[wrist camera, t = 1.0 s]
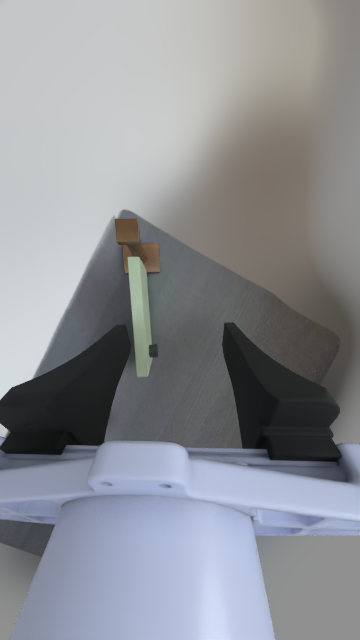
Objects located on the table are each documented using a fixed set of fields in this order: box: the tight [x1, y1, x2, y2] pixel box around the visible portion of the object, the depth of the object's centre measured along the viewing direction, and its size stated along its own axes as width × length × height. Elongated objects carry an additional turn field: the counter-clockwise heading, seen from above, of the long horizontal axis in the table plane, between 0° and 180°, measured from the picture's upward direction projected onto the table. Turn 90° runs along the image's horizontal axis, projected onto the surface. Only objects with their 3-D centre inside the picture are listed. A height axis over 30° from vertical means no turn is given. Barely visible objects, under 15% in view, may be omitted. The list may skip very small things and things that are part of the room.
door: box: [128, 257, 158, 377], centre depth 23 cm, size 13×2×7 cm, turn 3°
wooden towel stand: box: [115, 219, 160, 274], centre depth 21 cm, size 4×5×10 cm
